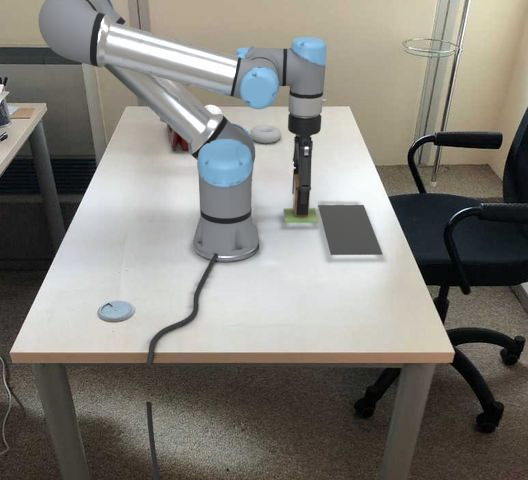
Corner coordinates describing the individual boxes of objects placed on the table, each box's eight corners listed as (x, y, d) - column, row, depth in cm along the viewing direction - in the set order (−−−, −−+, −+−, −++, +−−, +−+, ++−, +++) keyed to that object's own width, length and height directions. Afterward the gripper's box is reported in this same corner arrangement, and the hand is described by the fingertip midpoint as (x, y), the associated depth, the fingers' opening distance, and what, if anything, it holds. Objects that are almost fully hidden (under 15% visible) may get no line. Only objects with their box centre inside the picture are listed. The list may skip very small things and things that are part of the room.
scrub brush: (317, 228, 160) (320, 182, 153) (284, 228, 160) (286, 182, 153) (314, 217, 165) (317, 172, 158) (283, 217, 165) (284, 172, 157)
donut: (272, 132, 214) (245, 136, 210) (273, 122, 212) (245, 125, 208) (286, 142, 207) (257, 146, 203) (286, 132, 205) (258, 135, 201)
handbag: (162, 125, 217) (158, 70, 206) (194, 124, 219) (192, 69, 208) (169, 156, 195) (165, 97, 185) (204, 154, 197) (202, 96, 186)
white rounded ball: (205, 137, 216) (190, 117, 212) (219, 123, 219) (205, 103, 215) (217, 131, 210) (201, 111, 206) (231, 117, 213) (216, 96, 209)
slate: (382, 260, 148) (383, 254, 148) (330, 260, 148) (330, 254, 147) (363, 210, 169) (363, 204, 168) (317, 210, 168) (317, 204, 167)
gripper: (328, 131, 137) (320, 225, 150) (315, 97, 155) (309, 184, 169) (292, 131, 137) (288, 225, 150) (284, 97, 155) (281, 184, 168)
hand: (299, 203), depth 159 cm, fingers open, 11 cm apart
